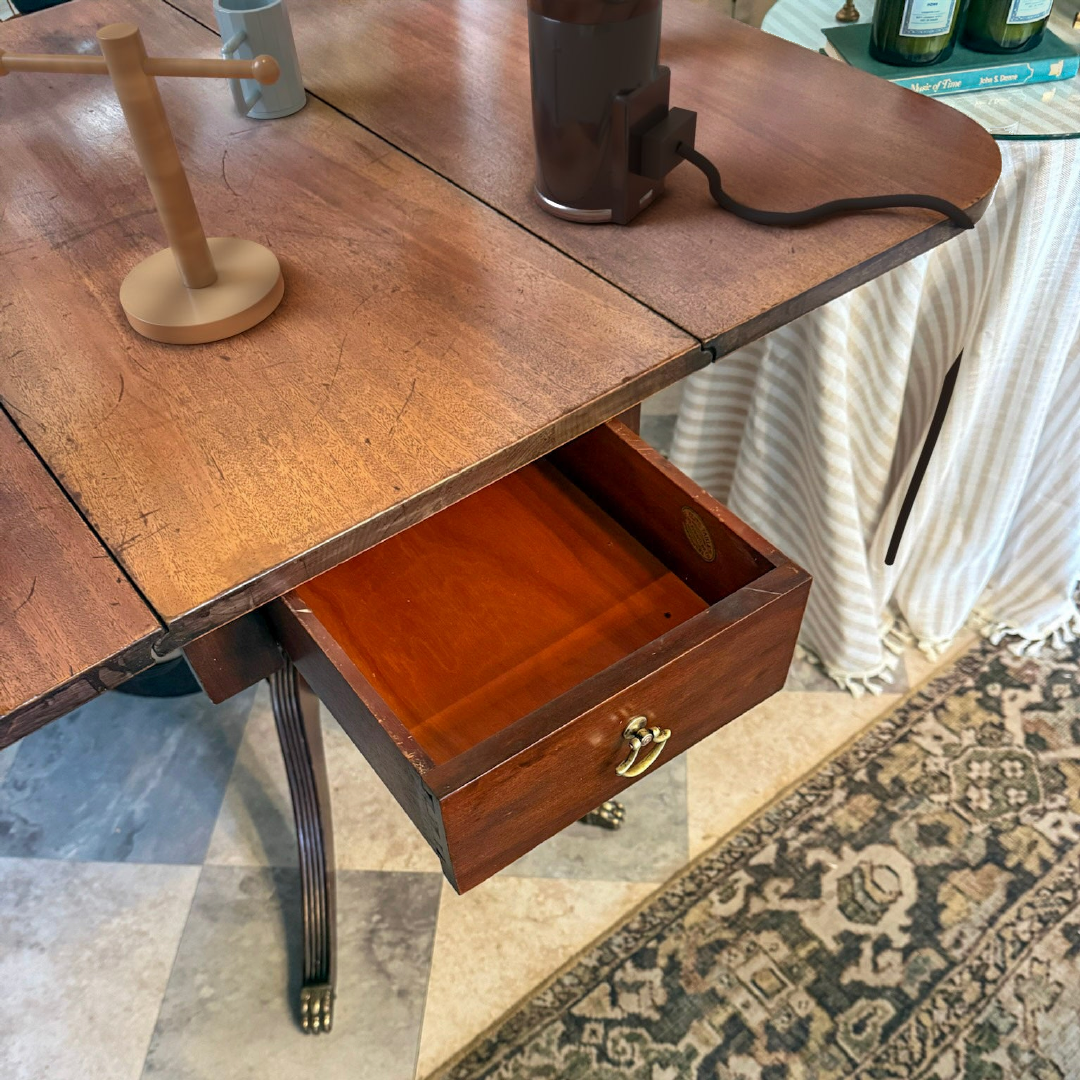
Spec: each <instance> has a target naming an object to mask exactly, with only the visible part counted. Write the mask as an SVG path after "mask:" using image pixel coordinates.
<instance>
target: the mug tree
mask: <svg viewBox="0 0 1080 1080" xmlns="http://www.w3.org/2000/svg"><path fill="white" fill-rule="evenodd" d="M141 33H142V32H141V30H140V27H139V26H138V25H137V24H135V23H133V22H116V23H111V24H108V25H105V26H102V27H101V28H100V29H98V30H97V31H96V33H95V36H96V39H97V42H98V45H99V47H100V50H101V54H102V55H88V54H87V55H86V54H85V55H83V54H55V53H54V54H53V53H52V54H51V53H15V52H7V51H6V50H4V49H3V48H0V78H1V77H2V78H3V77H6V76H8V75H9V74H10V73H12V72H13V73H42V74H43V73H44V74H75V75H104V76H105V75H108V76H110V79H111V82H112V85H113V88H114V91H115V93H116V96H117V99H118V103H119V105H120V108H121V110H122V113H123V116H124V118H125V122H126V125H127V128H128V131H129V133H130V137H131V139H132V142H133V144H134V148H135V151H136V153H137V156H138V159H139V162H140V164H141V168H142V171H143V173H144V176H145V179H146V182H147V185H148V187H149V191H150V193H151V197H152V199H153V202H154V205H155V208H156V210H157V213H158V216H159V219H160V222H161V224H162V228H163V229H164V230H163V231H164V233H165V236H166V239H167V242H168V244H169V247H166V248H164V249H161V250H159V251H157V252H155V253H153V254H150V255H149V256H148V257H146V258H145V259H143V260H142V261H140V262H139V263H138V264H136V265H135V266H134V267H133V268H132V269H131V270H130V271H129V272H128V273H127V274H126V276H125V277H124V279H123V280H122V283H121V285H120V289H119V300H120V304H121V306H122V309H123V311H124V314H125V316H126V319H127V321H128V323H129V325H130V326H131V327H132V329H133V330H135V332H137V333H139V335H141V336H143V337H145V338H147V339H150V340H152V341H156V342H159V343H162V344H163V343H164V344H170V345H198V344H205V343H211V342H216V341H219V340H224V339H227V338H230V337H233V336H235V335H238V334H241V333H242V332H245V331H247V330H249V329H251V328H253V327H254V326H256V325H258V324H260V323H261V322H263V321H264V320H265V319H266V318H268V317H269V316H270V315H271V314H272V313H273V312H274V311H275V310H276V308H277V307H278V306H279V304H280V303H281V301H282V299H283V297H284V293H285V279H284V277H283V273H282V268H281V265H280V261H279V259H278V258H277V256H276V255H275V254H274V252H273V251H271V250H270V249H269V248H268V247H267V246H265V245H262V244H260V243H258V242H255V241H253V240H249V239H246V238H245V239H244V238H240V237H230V236H229V237H228V236H227V237H225V236H223V237H222V236H217V237H215V236H214V237H206V234H205V231H204V228H203V225H202V222H201V219H200V215H199V213H198V209H197V206H196V203H195V200H194V196H193V194H192V193H193V192H192V190H191V187H190V183H189V181H188V178H187V174H186V171H185V169H184V165H183V162H182V158H181V156H180V152H179V149H178V146H177V144H176V140H175V137H174V134H173V131H172V127H171V124H170V121H169V118H168V115H167V111H166V109H165V105H164V102H163V99H162V95H161V93H160V90H159V88H158V83H157V80H156V77H168V78H169V77H170V78H171V77H172V78H178V77H179V78H202V79H203V78H205V79H228V78H232V79H256V80H257V81H258V82H259V83H261V84H263V85H272V84H274V83H275V82H276V81H277V80H278V79H279V76H280V67H279V64H278V63H277V61H276V60H275V59H274V58H273V57H271V56H269V55H260V56H258V57H256V58H255V59H254V60H231V59H223V58H193V57H188V58H187V57H161V56H160V57H157V56H156V57H155V56H148V51H147V49H146V46H145V42H144V40H143V36H142V34H141Z"/></svg>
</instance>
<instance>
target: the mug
mask: <svg viewBox="0 0 1080 1080" xmlns="http://www.w3.org/2000/svg"><path fill="white" fill-rule="evenodd" d="M212 8H213V11H214V16H215V19H216V23H217V26H218V31H219V34H220V38H221V42H222V45H223V46H222V47H221V48H220V54H221V59H231V60H254V59H255V58H256V57H258V56H260V55H269V56H271V57H273V58H274V59H275V60H276V61H277V63H278V64H279V67H280V76H279V79H278V80H277V81H276V82H275V83H274V84H272V85H263V84H261V83H259V82H258V81H257V80H256V79H232V78H227V80H228V84H229V87H230V91H231V97H232V99H233V102H234V103H233V104H234V107H235V110H236V114H237V115H238V116H239V118H245V117H246V116H247V117H249V118H253V119H258V120H271V119H278V118H283V117H288V116H289V115H292V114H295V113H297V112H298V111H300V110H302V109H303V108H304V107H305V105H306V104H307V96H306V90H305V85H304V81H303V76H302V71H301V66H300V62H299V57H298V52H297V48H296V43H295V38H294V34H293V30H292V29H293V28H292V23H291V20H290V15H289V14H290V13H289V10H288V5H287V1H286V0H213V1H212Z"/></svg>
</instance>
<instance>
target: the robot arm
mask: <svg viewBox="0 0 1080 1080" xmlns="http://www.w3.org/2000/svg"><path fill="white" fill-rule="evenodd" d="M526 10H527V12H526V13H527V14H526V15H527V32H528V35H527V36H528V55H529V58H528V59H529V78H530V79H529V81H530V102H531V104H530V105H531V125H532V126H531V127H532V147H533V163H534V168H533V169H534V178H533V191H534V192H533V193H534V194H533V195H534V198H535V202H536V203H537V204H538V206H539V207H540V208H541V209H543V210H544V212H547V213H548V214H550V215H552V216H555V217H556V218H559V219H563V220H566V221H570V222H576V223H577V222H578V223H587V224H588V223H589V224H591V223H593V224H594V223H596V224H597V223H616V224H619V225H622V226H623V225H624V226H625V225H627V224H628V223H629V222H630V221H632V220H633V219H634V218H635V217H636V216H637V215H638V214H639V213H641V212H642V211H643V210H645V209H646V208H647V207H648V206H649V205H650V204H651V203H652V202H653V201H654V200H655V199H657V198H658V197H659V196H660V195H661V194H662V193H663V192H664V191H665V187H666V185H665V183H666V177H667V176H668V175H669V174H670V173H671V172H672V171H673V170H674V169H676V168H677V167H678V166H679V165H680V164H681V163H682V162H684V161H685V160H686V161H687V162H689V163H691V164H692V165H693V166H695V167H696V168H698V169H699V170H700V171H701V172H702V173H703V174H704V175H705V176H706V178H707V181H708V189H709V190H708V191H709V193H710V196H711V198H712V199H713V200H714V201H715V202H716V203H717V204H718V205H719V206H721V207H722V208H723V209H724V210H726V211H728V212H729V213H731V214H733V215H735V216H736V217H739V218H741V219H743V220H746V221H749V222H751V223H755V224H761V225H773V226H787V227H788V226H789V227H790V226H800V225H804V224H809V223H812V222H815V221H817V220H820V219H823V218H826V217H829V216H831V215H835V214H838V213H844V212H855V211H869V210H871V211H872V210H881V209H892V208H893V209H894V208H920V209H927V210H929V211H930V210H931V211H934V212H937V213H939V214H942V215H944V216H946V217H947V218H949V219H950V220H951V221H953V222H954V223H955V224H956V226H957V227H959V228H961V229H962V230H967V231H968V230H974V229H975V228H976V226H975V223H974V222H973V221H972V219H971V218H970V216H969V215H968V214H967V213H966V212H965V211H964V210H963V209H961V208H960V207H958V205H956V204H954V203H952V202H950V201H949V200H946V199H944V198H941V197H938V196H933V195H929V194H921V193H897V194H896V193H895V194H885V195H875V196H864V197H862V196H861V197H849V198H840V199H835V200H831V201H827V202H824V203H822V204H819V205H816V206H814V207H810V208H808V209H804V210H801V211H794V212H785V211H784V212H782V211H769V210H762V209H755V208H752V207H748V206H745V205H743V204H741V203H739V202H738V201H736V200H735V199H734V198H732V197H731V195H728V194H727V193H726V192H725V190H724V189H723V188H722V178H721V174H720V172H719V169H718V168H717V167H716V165H715V164H714V163H713V162H711V160H709V158H707V157H706V156H705V155H703V154H702V153H700V152H699V151H697V150H696V149H695V148H696V135H697V134H696V133H697V132H696V131H697V121H698V112H697V111H694V110H691V109H686V108H682V107H678V106H672V107H671V108H670V98H671V97H670V96H671V95H670V94H671V79H672V78H671V77H672V72H671V71H672V70H671V68H670V67H669V66H668V65H664V64H661V63H660V61H661V40H662V21H663V0H526ZM964 348H965V346H963V347H962V349H961V351H960V352H959V353H958V355H957V357H956V358H955V360H954V361H953V363H951V366H950V367H949V369H948V370H947V373H946V374H945V376H944V380H943V382H942V386H941V391H940V394H939V396H938V397H939V398H938V400H937V404H936V408H935V410H934V413H933V417H932V420H931V423H930V426H929V429H928V431H927V435H926V438H925V441H924V443H923V445H922V449H921V452H920V456H919V457H918V460H917V463H916V466H915V468H914V471H913V474H912V477H911V480H910V481H909V485H908V487H907V491H906V493H905V496H904V499H903V501H902V504H901V508H900V510H899V512H898V516H897V519H896V521H895V525H894V528H893V531H892V534H891V538H890V541H889V544H888V547H887V551H886V554H885V558H884V565H886V566H893V565H894V563H895V561H896V557H897V554H898V550H899V548H900V545H901V542H902V538H903V535H904V531H905V530H906V526H907V523H908V520H909V517H910V516H911V513H912V509H913V507H914V504H915V501H916V498H917V496H918V493H919V490H920V487H921V485H922V482H923V480H924V476H925V475H926V471H927V468H928V466H929V463H930V461H931V458H932V455H933V454H934V453H933V452H934V451H935V448H936V446H937V445H936V444H937V442H938V439H939V437H940V433H941V430H942V428H943V425H944V422H945V419H946V416H947V413H948V409H949V406H950V403H951V400H952V397H953V393H954V390H955V386H956V383H957V380H958V375H959V372H960V367H961V363H962V360H963V359H962V358H963V354H964Z"/></svg>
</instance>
